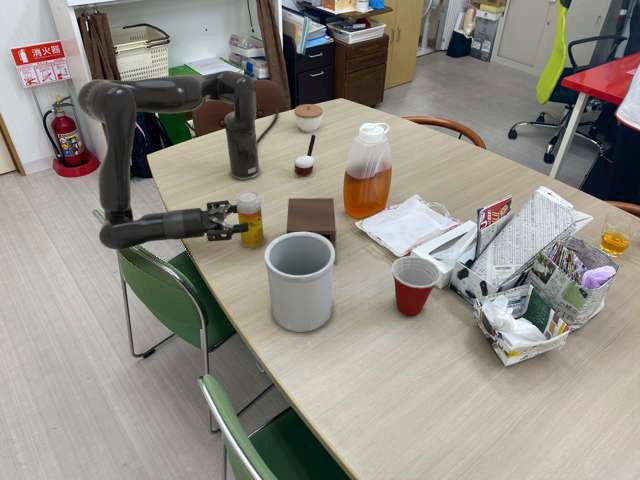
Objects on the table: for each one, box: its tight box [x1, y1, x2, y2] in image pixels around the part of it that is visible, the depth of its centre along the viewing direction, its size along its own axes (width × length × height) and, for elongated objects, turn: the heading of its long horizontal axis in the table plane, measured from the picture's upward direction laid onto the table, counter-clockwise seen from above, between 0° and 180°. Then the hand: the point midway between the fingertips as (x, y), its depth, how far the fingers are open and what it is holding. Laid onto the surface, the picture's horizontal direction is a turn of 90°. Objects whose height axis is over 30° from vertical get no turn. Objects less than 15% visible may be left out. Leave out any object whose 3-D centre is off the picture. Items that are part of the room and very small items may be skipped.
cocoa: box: [294, 134, 317, 177], centre depth 150 cm, size 10×6×12 cm, turn 119°
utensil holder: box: [263, 232, 336, 333], centre depth 102 cm, size 15×15×18 cm
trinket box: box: [293, 103, 324, 133], centre depth 176 cm, size 11×11×9 cm
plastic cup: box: [391, 255, 442, 317], centre depth 104 cm, size 11×11×12 cm
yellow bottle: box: [235, 190, 265, 249], centre depth 121 cm, size 6×6×15 cm
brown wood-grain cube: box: [286, 197, 337, 251], centre depth 121 cm, size 14×12×11 cm
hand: (247, 217), depth 120 cm, fingers open, 8 cm apart
